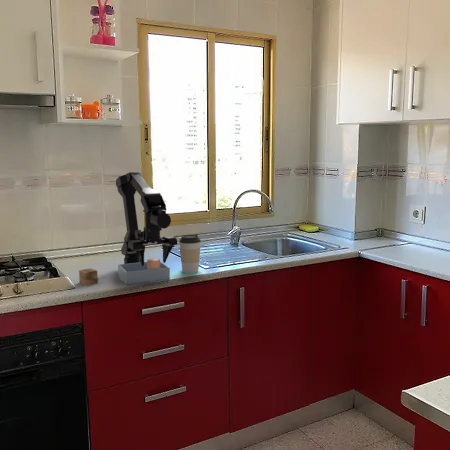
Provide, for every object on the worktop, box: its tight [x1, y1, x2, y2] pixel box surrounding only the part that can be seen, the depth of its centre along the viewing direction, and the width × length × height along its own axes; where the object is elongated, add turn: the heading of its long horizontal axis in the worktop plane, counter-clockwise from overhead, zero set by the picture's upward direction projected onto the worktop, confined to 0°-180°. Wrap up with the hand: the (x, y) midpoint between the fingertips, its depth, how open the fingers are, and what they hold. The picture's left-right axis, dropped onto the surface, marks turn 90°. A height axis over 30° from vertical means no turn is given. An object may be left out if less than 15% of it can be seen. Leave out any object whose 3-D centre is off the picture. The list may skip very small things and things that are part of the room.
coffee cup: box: [178, 234, 202, 274], centre depth 210 cm, size 9×9×15 cm
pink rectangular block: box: [146, 257, 161, 270], centre depth 198 cm, size 5×5×7 cm
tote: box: [117, 260, 171, 286], centre depth 199 cm, size 17×13×5 cm
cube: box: [78, 267, 99, 286], centre depth 193 cm, size 5×5×5 cm
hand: (153, 264), depth 198 cm, fingers open, 9 cm apart
